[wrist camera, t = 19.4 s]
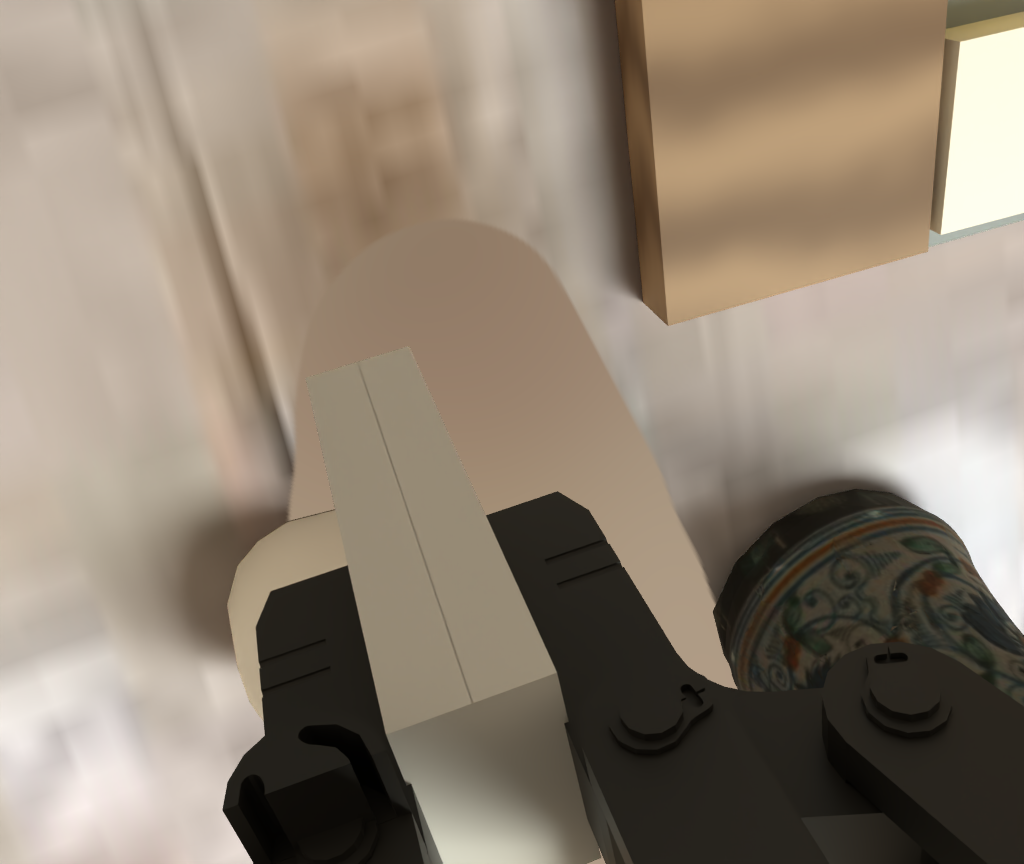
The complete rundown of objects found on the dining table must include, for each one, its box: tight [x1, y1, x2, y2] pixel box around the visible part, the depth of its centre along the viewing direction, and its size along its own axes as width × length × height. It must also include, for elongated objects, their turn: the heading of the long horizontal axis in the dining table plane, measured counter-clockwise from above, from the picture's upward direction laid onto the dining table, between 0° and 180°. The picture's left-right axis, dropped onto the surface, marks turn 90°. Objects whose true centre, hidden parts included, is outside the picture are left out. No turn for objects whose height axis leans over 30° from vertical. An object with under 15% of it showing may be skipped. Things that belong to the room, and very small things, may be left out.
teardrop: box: [227, 509, 348, 721], centre depth 47 cm, size 11×11×12 cm
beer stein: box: [713, 489, 1024, 706], centre depth 52 cm, size 16×19×25 cm
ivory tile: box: [930, 11, 1024, 235], centre depth 46 cm, size 9×6×2 cm, turn 9°
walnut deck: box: [615, 0, 948, 326], centre depth 42 cm, size 22×14×3 cm, turn 9°
